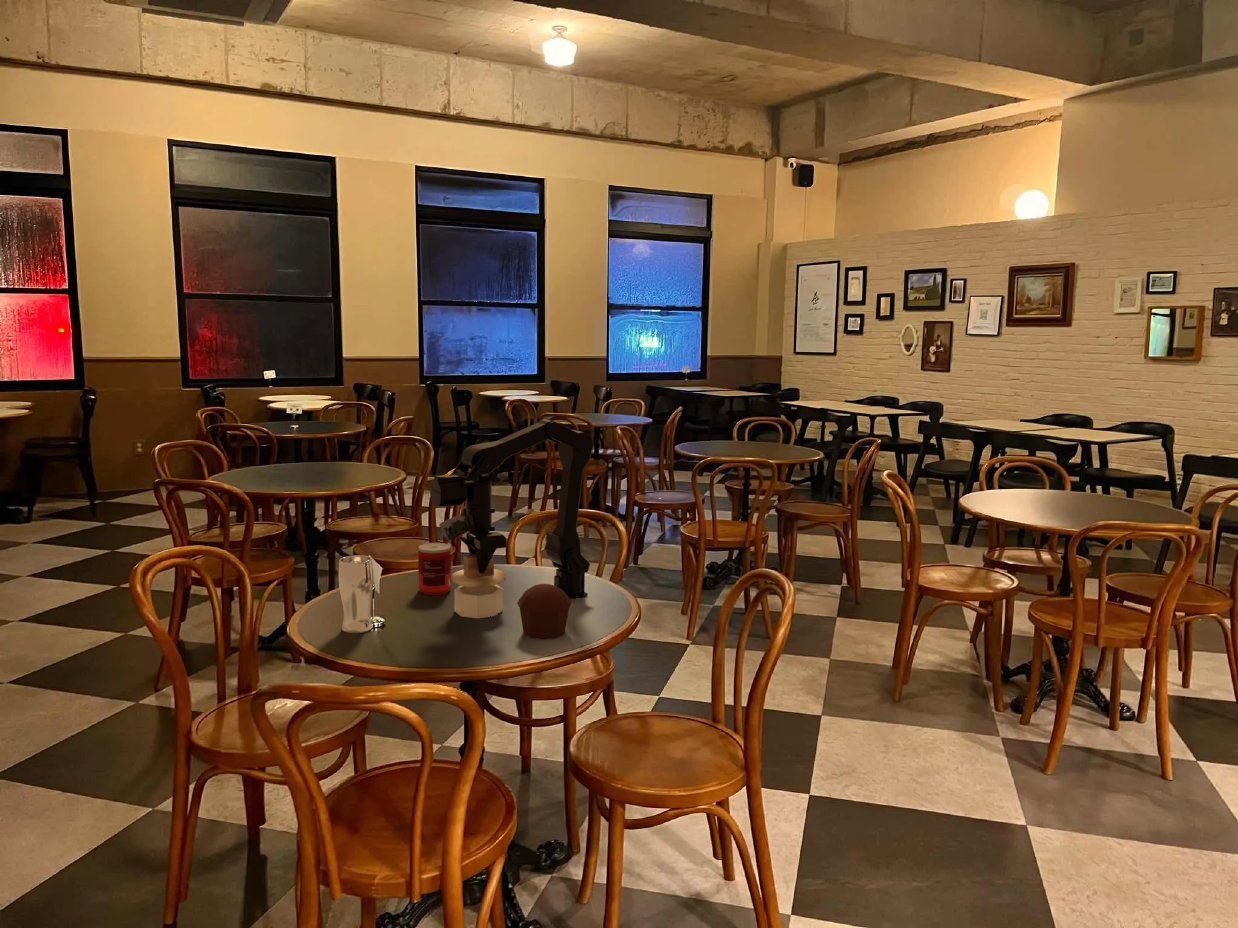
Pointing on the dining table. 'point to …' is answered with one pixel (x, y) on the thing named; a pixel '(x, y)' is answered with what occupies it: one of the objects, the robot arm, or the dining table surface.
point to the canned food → (434, 568)
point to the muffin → (544, 611)
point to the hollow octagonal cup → (478, 601)
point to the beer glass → (356, 592)
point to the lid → (477, 574)
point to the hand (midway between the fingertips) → (479, 571)
